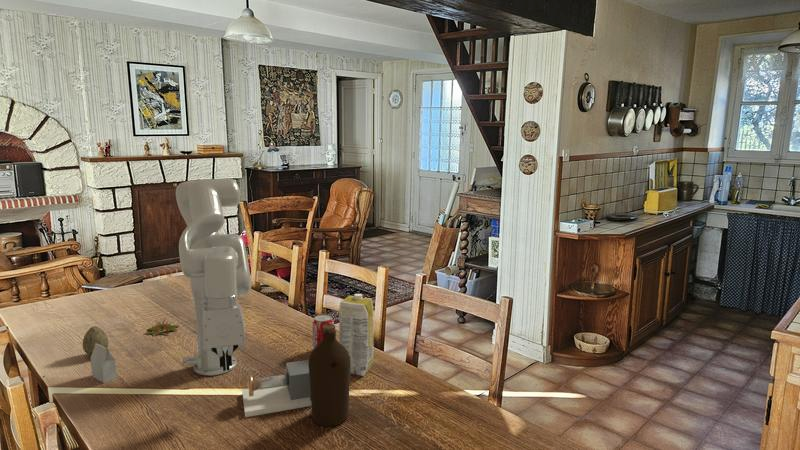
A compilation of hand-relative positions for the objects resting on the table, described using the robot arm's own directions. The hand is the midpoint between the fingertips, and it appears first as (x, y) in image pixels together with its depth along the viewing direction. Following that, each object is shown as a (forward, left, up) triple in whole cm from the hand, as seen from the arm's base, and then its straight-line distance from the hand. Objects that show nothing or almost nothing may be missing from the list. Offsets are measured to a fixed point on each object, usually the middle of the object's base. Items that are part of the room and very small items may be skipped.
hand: (226, 368), depth 135 cm
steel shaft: (+13, +1, -9) cm, 16 cm away
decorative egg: (-39, +47, -12) cm, 62 cm away
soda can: (+31, +27, -12) cm, 43 cm away
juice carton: (+38, +11, -12) cm, 41 cm away
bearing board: (+17, +1, -12) cm, 21 cm away
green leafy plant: (-21, +63, -12) cm, 67 cm away
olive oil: (+25, -12, -12) cm, 30 cm away
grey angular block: (-34, +30, -12) cm, 47 cm away
